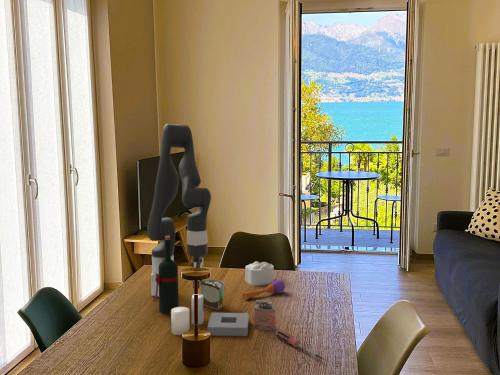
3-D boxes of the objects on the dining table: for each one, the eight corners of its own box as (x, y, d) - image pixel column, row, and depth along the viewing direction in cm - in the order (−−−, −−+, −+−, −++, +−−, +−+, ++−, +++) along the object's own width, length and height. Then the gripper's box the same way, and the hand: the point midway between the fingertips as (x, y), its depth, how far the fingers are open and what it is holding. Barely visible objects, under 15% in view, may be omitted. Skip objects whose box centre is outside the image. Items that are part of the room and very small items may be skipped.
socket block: (207, 335, 188) (207, 327, 188) (211, 320, 202) (211, 312, 202) (247, 335, 188) (247, 327, 188) (248, 320, 202) (248, 313, 201)
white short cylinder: (170, 335, 189) (169, 313, 188) (173, 327, 195) (172, 306, 194) (188, 335, 188) (187, 313, 187) (190, 328, 195) (190, 306, 194)
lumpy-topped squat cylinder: (243, 280, 252) (243, 262, 251) (267, 276, 258) (267, 259, 257) (253, 286, 243) (253, 267, 242) (278, 282, 248) (278, 264, 247)
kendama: (240, 288, 228) (278, 277, 238) (242, 302, 228) (280, 291, 238) (247, 290, 222) (286, 279, 233) (249, 304, 222) (288, 292, 233)
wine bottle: (150, 309, 213) (148, 236, 209) (174, 305, 218) (173, 233, 214) (157, 316, 206) (155, 240, 202) (181, 311, 211) (180, 237, 207)
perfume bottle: (276, 327, 196) (276, 300, 195) (273, 330, 193) (274, 303, 191) (255, 324, 199) (255, 298, 197) (252, 327, 195) (252, 301, 194)
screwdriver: (326, 362, 168) (326, 353, 168) (319, 364, 167) (319, 355, 166) (280, 335, 189) (280, 327, 189) (273, 337, 188) (273, 329, 187)
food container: (231, 307, 216) (231, 283, 215) (220, 311, 212) (220, 286, 210) (211, 300, 225) (210, 276, 223) (200, 303, 220) (199, 280, 219)
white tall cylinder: (191, 324, 199) (191, 298, 197) (193, 320, 203) (192, 294, 201) (202, 324, 198) (202, 298, 197) (203, 320, 202) (203, 294, 201)
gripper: (189, 237, 204) (190, 279, 206) (183, 246, 190) (184, 290, 192) (209, 237, 204) (210, 279, 206) (205, 246, 189) (205, 291, 191)
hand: (197, 284), depth 199 cm, fingers open, 8 cm apart
